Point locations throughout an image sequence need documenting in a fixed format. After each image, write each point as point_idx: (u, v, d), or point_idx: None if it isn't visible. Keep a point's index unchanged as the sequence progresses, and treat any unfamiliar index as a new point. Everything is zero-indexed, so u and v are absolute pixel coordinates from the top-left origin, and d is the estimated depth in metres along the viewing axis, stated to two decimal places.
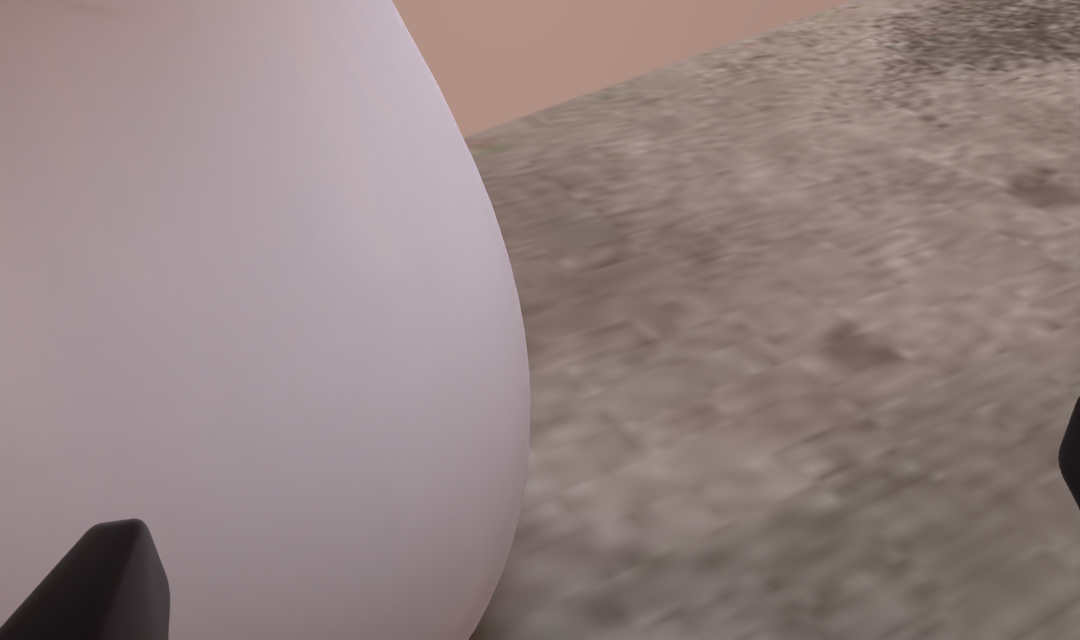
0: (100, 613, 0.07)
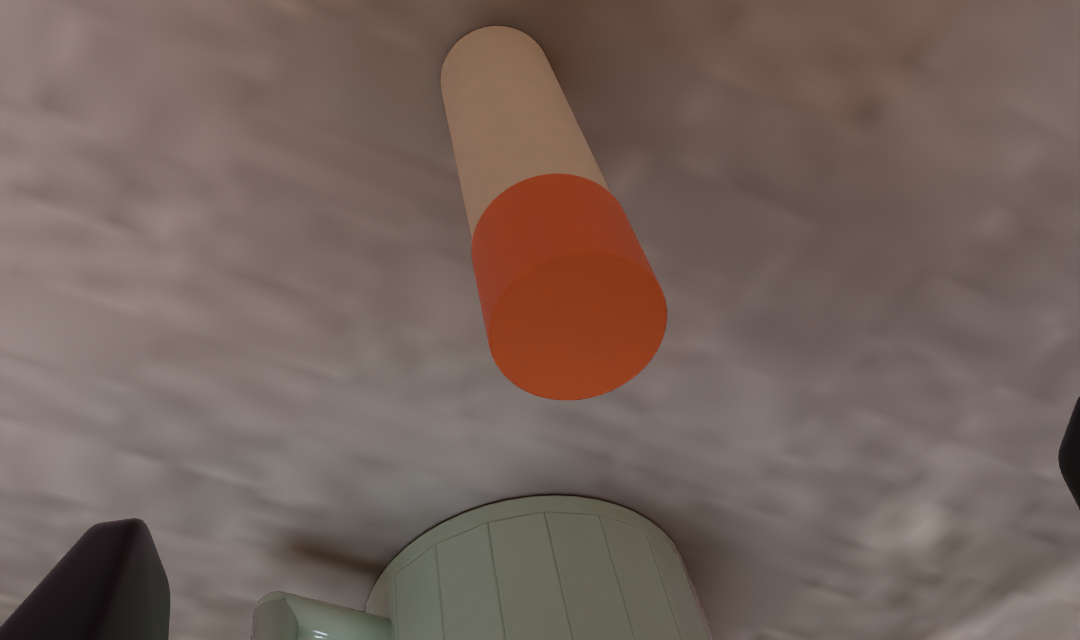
0: (100, 613, 0.07)
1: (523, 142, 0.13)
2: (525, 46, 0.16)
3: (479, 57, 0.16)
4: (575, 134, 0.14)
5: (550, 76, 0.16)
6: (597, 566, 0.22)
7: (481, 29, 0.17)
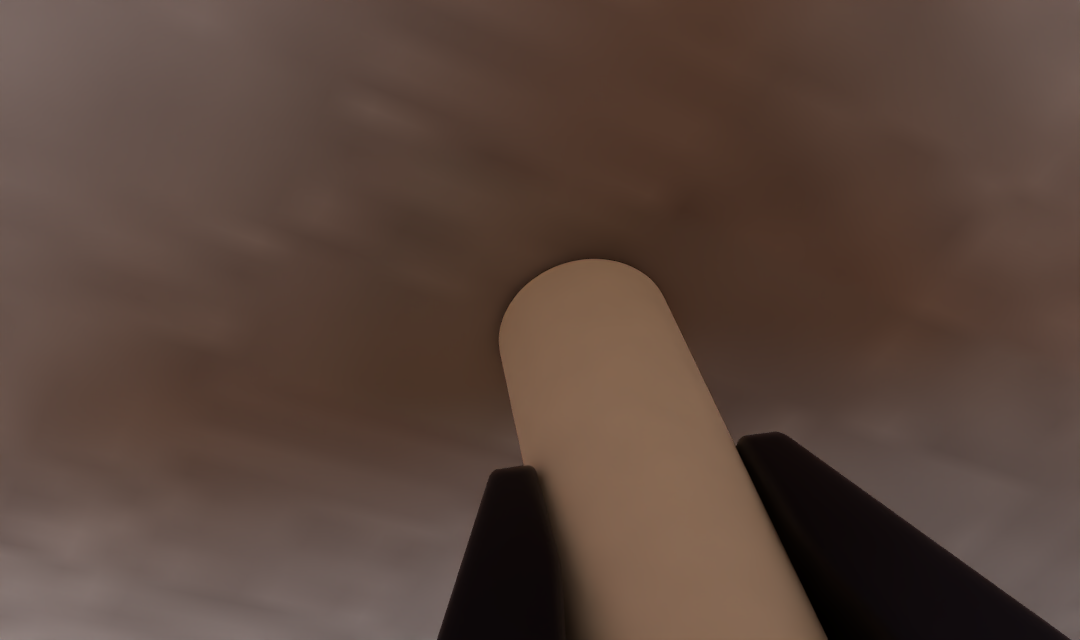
0: (553, 548, 0.08)
1: (698, 624, 0.07)
2: (643, 307, 0.10)
3: (573, 338, 0.10)
4: (778, 563, 0.07)
5: (693, 376, 0.09)
6: None
7: (567, 267, 0.11)
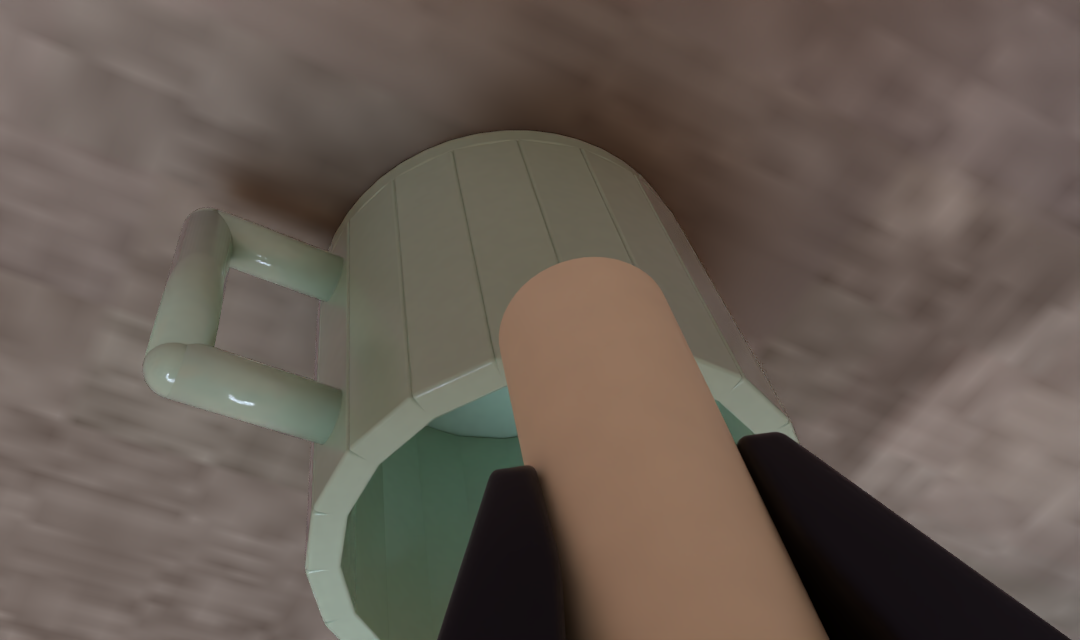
0: (553, 548, 0.08)
1: (698, 622, 0.07)
2: (643, 305, 0.10)
3: (573, 336, 0.10)
4: (778, 560, 0.07)
5: (694, 373, 0.09)
6: (576, 179, 0.19)
7: (567, 265, 0.11)
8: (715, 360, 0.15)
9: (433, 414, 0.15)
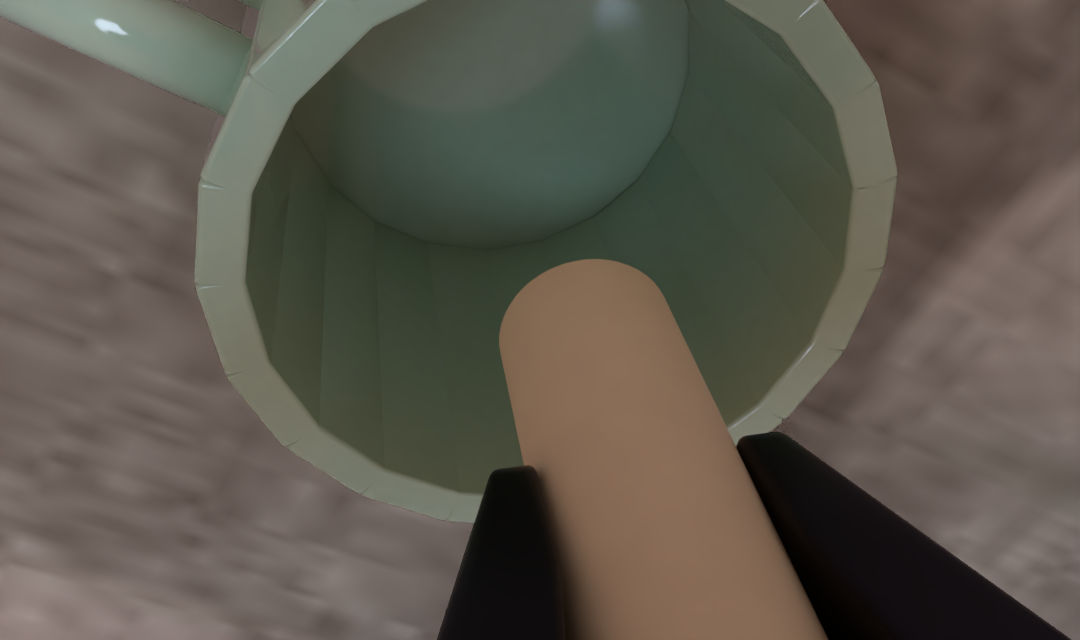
0: (553, 548, 0.08)
1: (698, 625, 0.07)
2: (644, 307, 0.10)
3: (574, 338, 0.10)
4: (778, 563, 0.07)
5: (694, 376, 0.09)
6: None
7: (567, 267, 0.11)
8: None
9: (371, 18, 0.10)
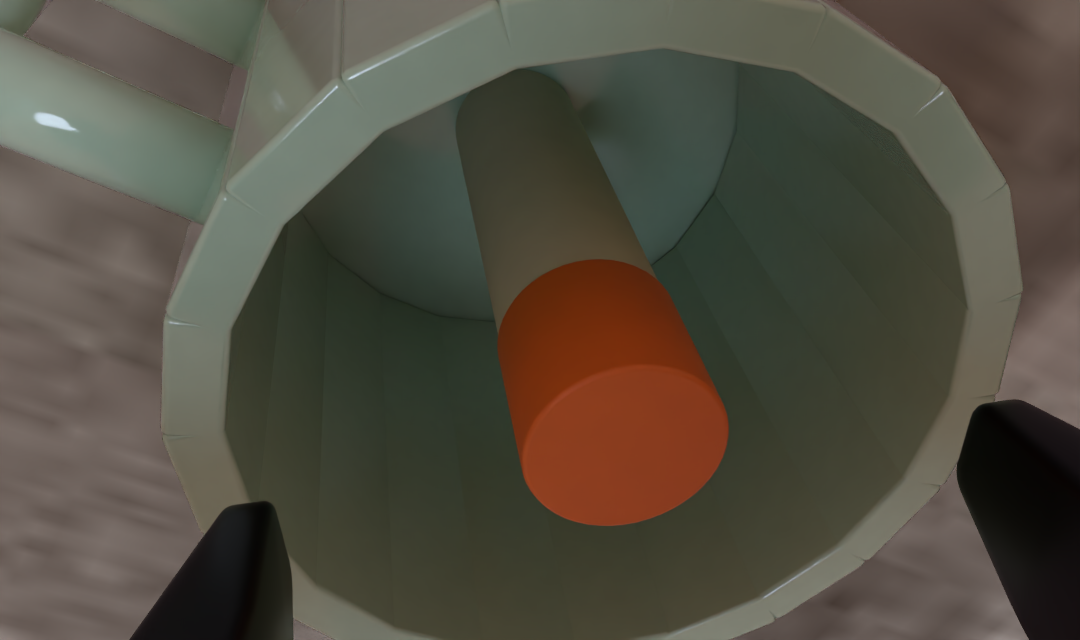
0: (250, 592, 0.07)
1: (555, 217, 0.12)
2: (550, 94, 0.15)
3: (501, 108, 0.14)
4: (612, 203, 0.12)
5: (579, 129, 0.14)
6: None
7: None
8: (896, 48, 0.08)
9: (381, 121, 0.08)
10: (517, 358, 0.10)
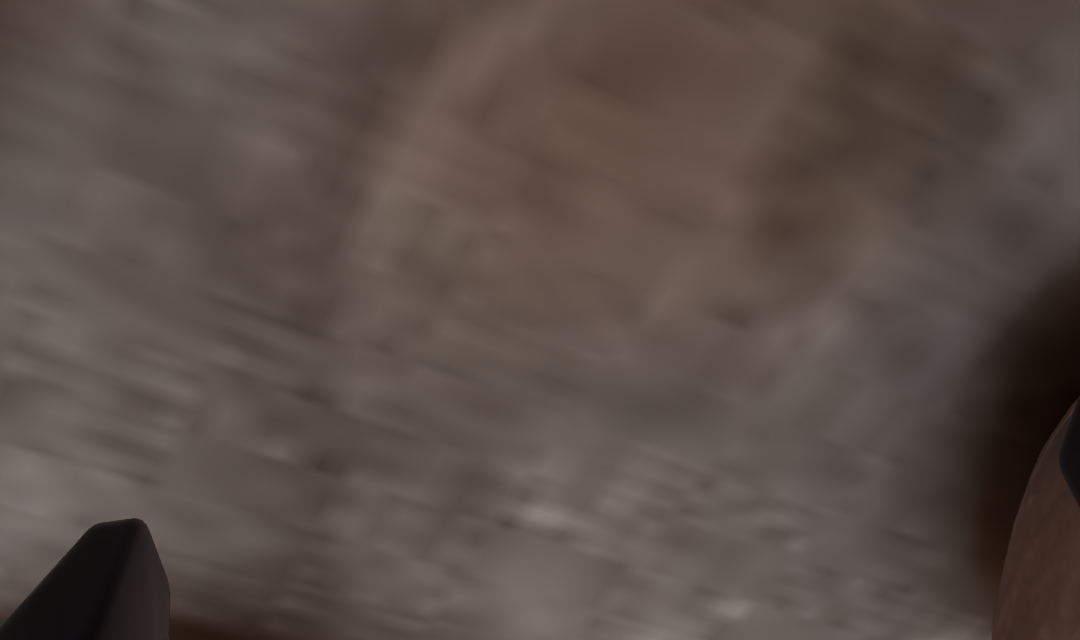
0: (99, 613, 0.07)
1: None
2: None
3: None
4: None
5: None
6: None
7: None
8: None
9: None
10: None
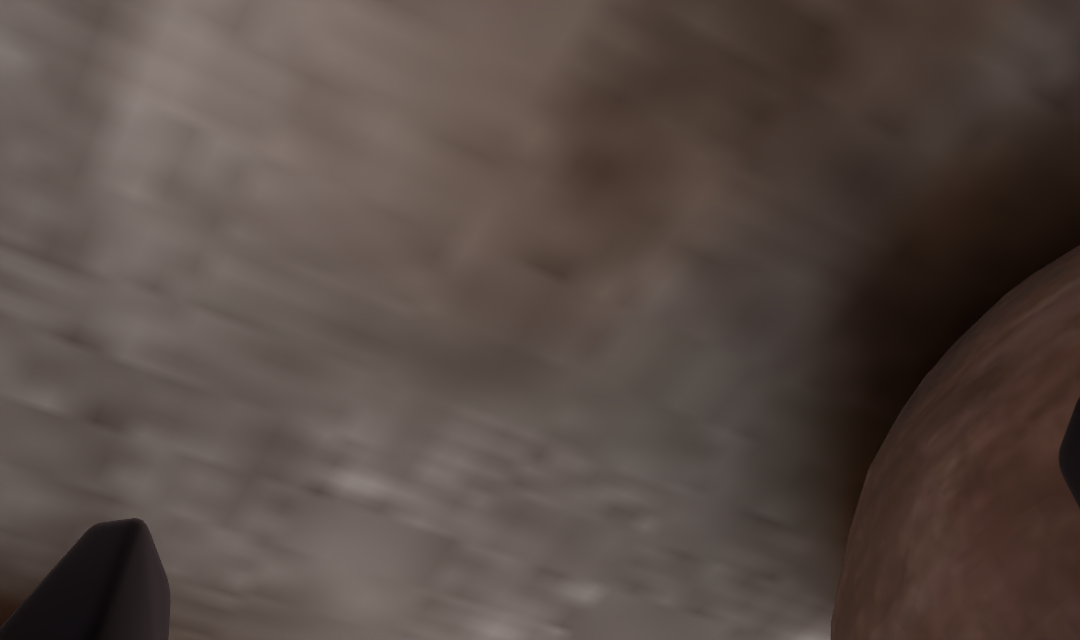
0: (100, 613, 0.07)
1: None
2: None
3: None
4: None
5: None
6: None
7: None
8: None
9: None
10: None
